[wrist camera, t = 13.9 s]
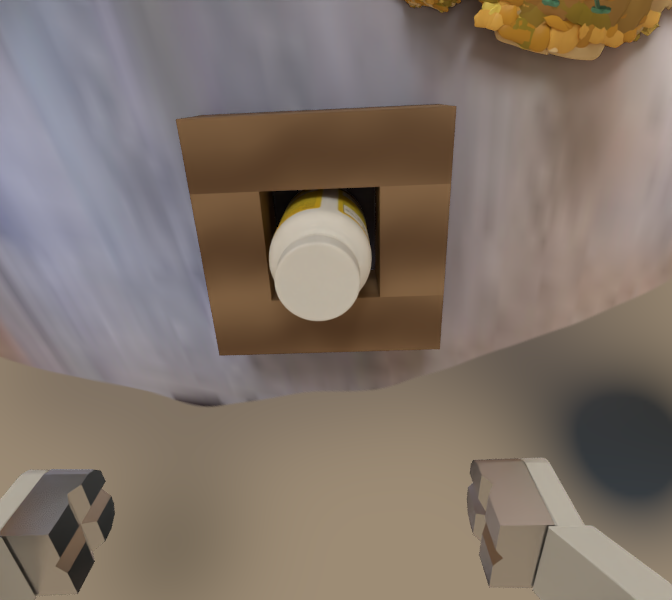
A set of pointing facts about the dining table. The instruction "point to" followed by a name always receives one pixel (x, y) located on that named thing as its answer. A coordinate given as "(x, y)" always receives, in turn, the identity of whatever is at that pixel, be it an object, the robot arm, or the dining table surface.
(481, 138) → the dining table surface
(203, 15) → the dining table surface
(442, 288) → the socket block
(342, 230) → the supplement bottle
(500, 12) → the green creature figurine
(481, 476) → the robot arm
